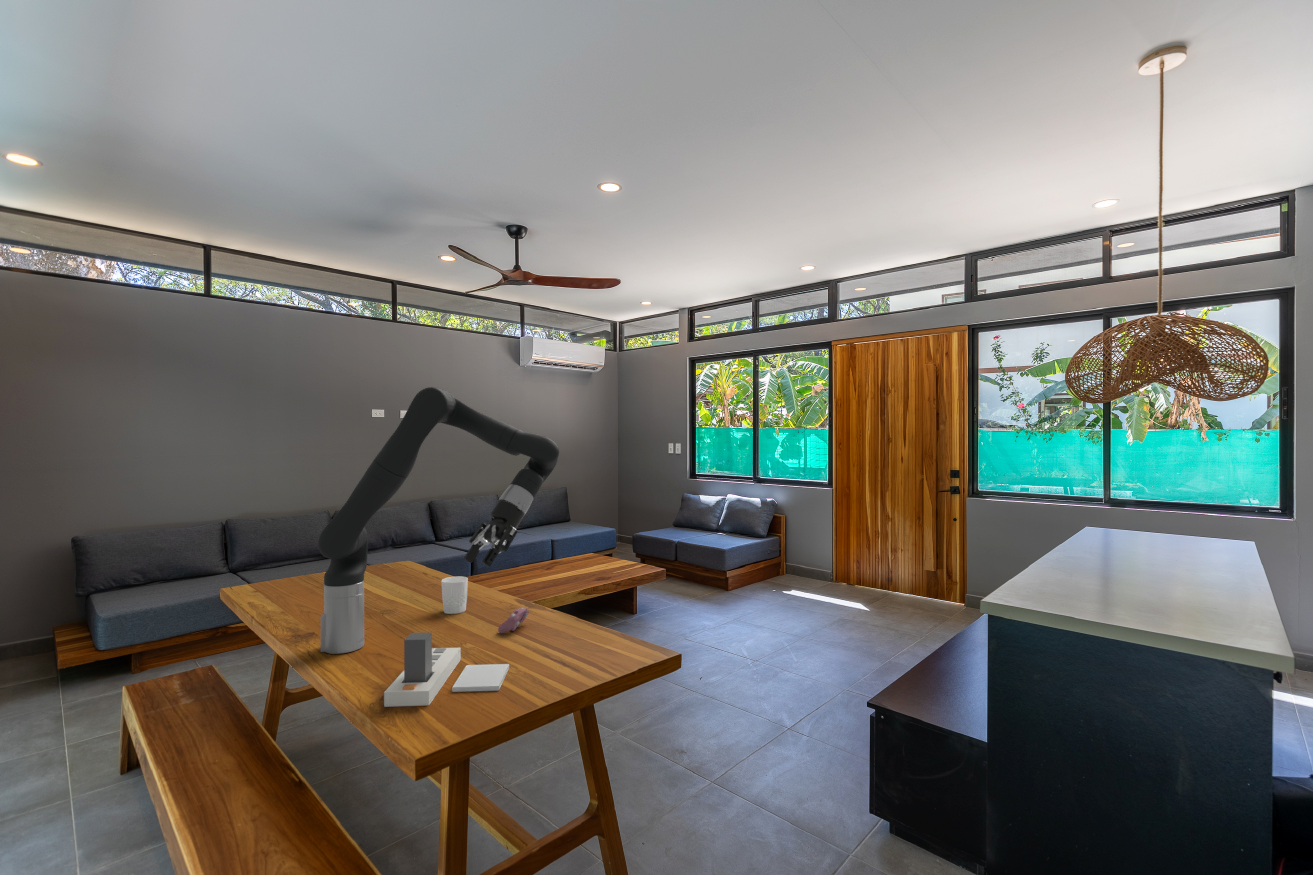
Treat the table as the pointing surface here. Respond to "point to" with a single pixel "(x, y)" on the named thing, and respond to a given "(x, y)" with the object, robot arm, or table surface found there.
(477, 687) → the mat
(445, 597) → the white cup
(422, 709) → the table surface
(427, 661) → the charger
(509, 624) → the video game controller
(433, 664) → the power strip
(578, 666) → the table surface
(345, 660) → the table surface
